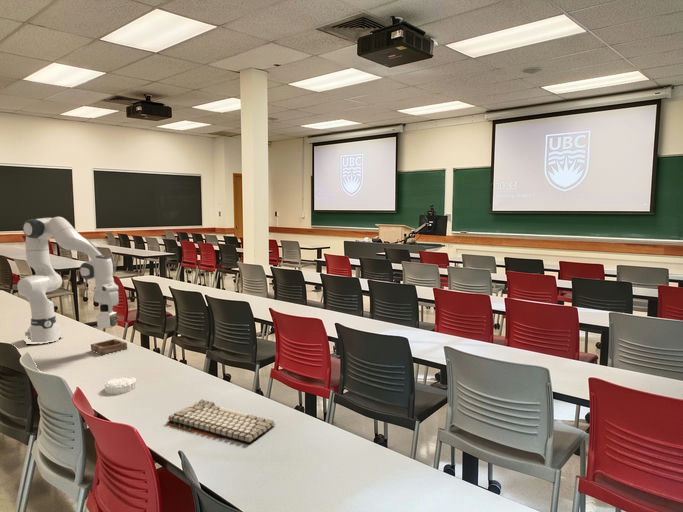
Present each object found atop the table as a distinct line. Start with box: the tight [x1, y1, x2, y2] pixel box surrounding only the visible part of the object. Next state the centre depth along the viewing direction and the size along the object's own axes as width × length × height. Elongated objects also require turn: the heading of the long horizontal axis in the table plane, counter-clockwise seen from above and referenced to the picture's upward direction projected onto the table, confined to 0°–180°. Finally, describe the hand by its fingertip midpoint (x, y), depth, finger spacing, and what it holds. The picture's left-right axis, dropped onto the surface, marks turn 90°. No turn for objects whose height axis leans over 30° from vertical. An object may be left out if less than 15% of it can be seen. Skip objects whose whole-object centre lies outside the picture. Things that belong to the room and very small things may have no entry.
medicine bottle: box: [96, 304, 118, 329], centre depth 251 cm, size 7×7×12 cm
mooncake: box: [104, 376, 137, 395], centre depth 199 cm, size 12×12×4 cm
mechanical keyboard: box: [166, 398, 279, 446], centre depth 166 cm, size 38×19×3 cm, turn 64°
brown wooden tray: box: [90, 338, 128, 356], centre depth 253 cm, size 13×13×4 cm
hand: (106, 311), depth 251 cm, fingers closed on medicine bottle, 6 cm apart
